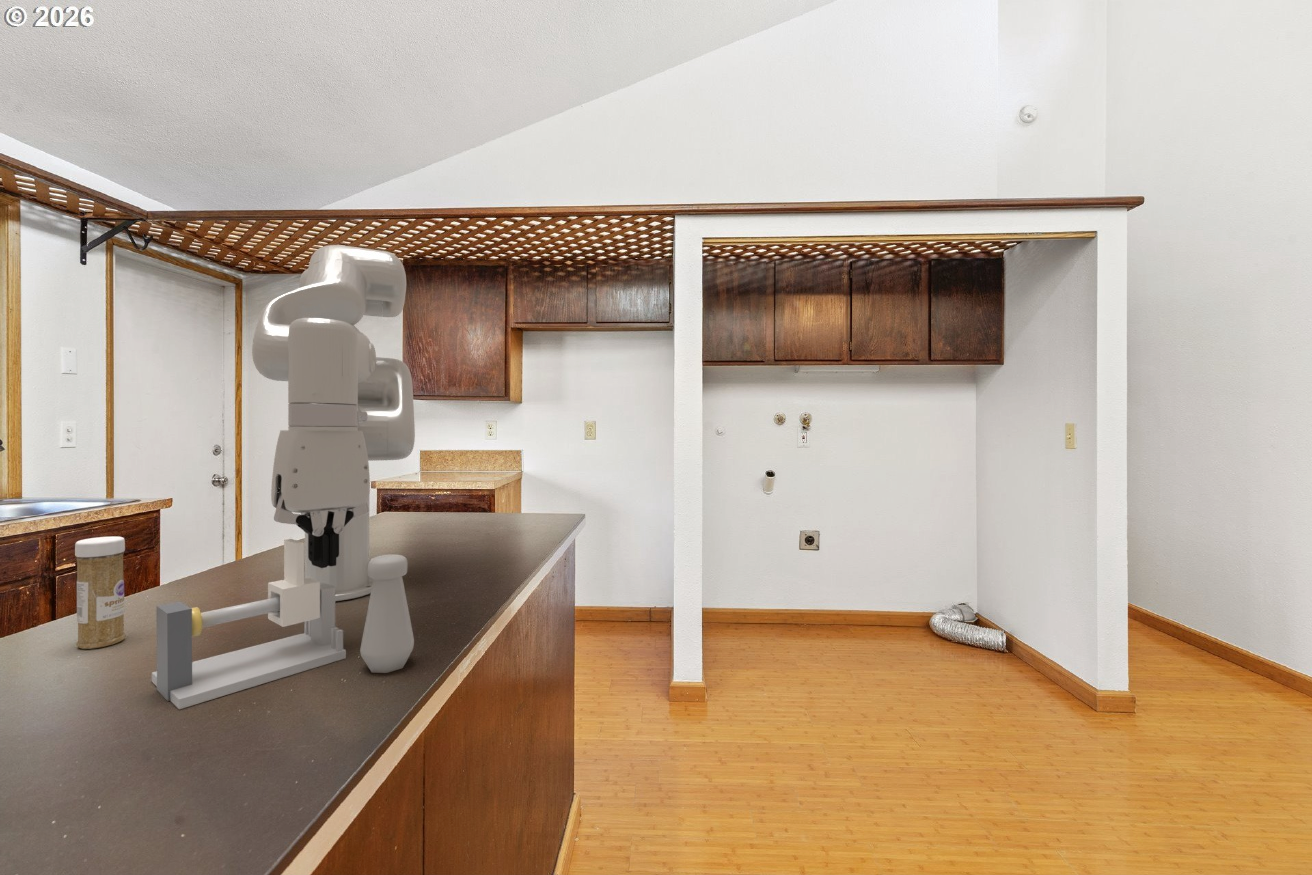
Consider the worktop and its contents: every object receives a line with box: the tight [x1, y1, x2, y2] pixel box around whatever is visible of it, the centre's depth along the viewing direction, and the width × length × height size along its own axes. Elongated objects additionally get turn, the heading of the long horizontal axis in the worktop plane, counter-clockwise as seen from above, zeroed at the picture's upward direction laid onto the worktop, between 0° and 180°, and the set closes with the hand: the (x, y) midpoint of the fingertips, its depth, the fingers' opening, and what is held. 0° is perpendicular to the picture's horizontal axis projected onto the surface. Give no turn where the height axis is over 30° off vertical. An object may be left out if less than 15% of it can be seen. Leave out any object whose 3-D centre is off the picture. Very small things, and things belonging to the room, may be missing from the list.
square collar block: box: [267, 538, 320, 628], centre depth 69 cm, size 4×4×9 cm
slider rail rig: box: [151, 583, 347, 710], centre depth 66 cm, size 16×10×9 cm, turn 143°
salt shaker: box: [359, 553, 415, 674], centre depth 67 cm, size 6×6×13 cm
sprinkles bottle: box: [74, 536, 126, 650], centre depth 73 cm, size 5×5×13 cm
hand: (323, 565), depth 72 cm, fingers closed
